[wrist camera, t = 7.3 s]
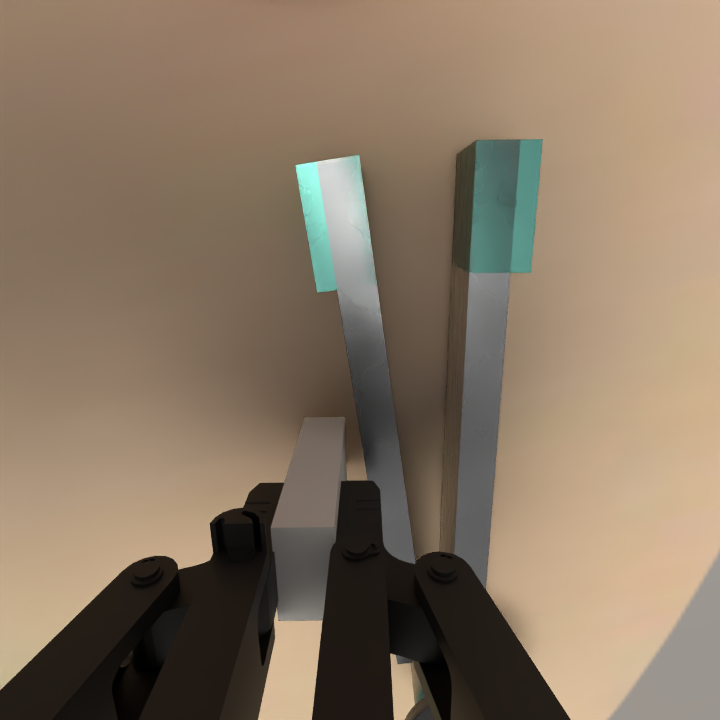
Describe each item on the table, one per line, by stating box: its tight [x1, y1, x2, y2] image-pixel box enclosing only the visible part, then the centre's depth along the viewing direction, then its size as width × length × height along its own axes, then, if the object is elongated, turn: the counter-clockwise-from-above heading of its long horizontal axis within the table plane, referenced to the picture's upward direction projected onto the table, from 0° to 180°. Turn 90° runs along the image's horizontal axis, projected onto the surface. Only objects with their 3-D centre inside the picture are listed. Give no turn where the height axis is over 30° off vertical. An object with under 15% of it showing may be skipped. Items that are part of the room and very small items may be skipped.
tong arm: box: [295, 155, 416, 664], centre depth 17 cm, size 18×2×3 cm, turn 9°
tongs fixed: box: [405, 139, 543, 720], centre depth 17 cm, size 23×5×5 cm, turn 1°
